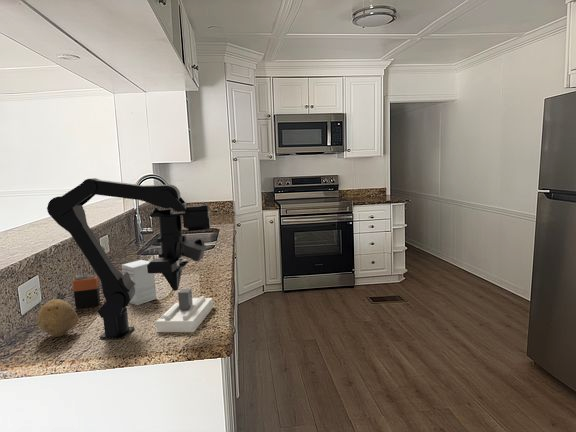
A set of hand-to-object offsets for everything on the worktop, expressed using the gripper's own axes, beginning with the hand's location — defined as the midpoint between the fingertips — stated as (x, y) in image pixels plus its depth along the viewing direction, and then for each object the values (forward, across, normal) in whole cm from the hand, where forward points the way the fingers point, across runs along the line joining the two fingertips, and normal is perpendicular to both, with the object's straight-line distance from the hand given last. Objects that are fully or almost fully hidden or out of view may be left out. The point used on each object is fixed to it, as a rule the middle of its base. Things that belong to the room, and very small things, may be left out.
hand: (175, 290), depth 108 cm
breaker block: (+10, +6, 0) cm, 12 cm away
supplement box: (+11, +22, +21) cm, 33 cm away
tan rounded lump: (+11, -5, +31) cm, 34 cm away
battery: (+11, +18, +37) cm, 43 cm away
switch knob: (+7, +6, 0) cm, 9 cm away
